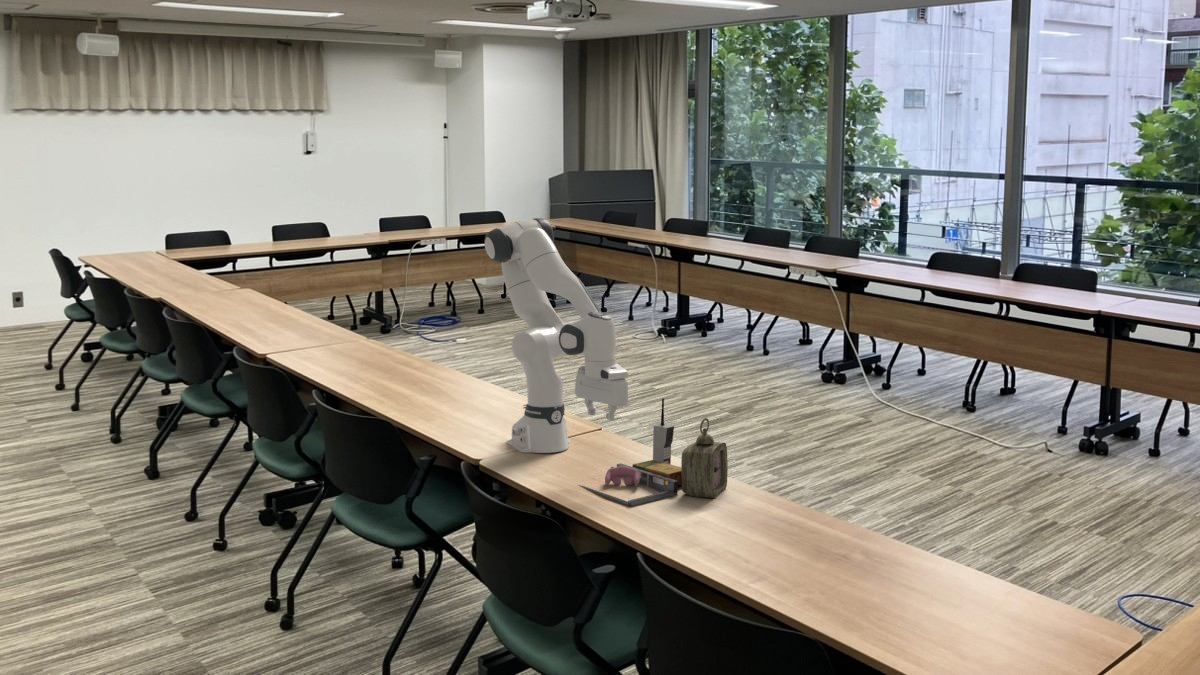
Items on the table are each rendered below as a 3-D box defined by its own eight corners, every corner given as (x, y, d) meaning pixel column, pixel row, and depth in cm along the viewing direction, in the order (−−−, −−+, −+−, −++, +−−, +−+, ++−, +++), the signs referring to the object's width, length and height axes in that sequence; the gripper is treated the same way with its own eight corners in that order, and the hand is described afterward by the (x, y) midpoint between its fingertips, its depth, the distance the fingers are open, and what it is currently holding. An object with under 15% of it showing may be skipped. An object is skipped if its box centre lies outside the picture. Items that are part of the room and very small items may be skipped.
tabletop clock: (712, 514, 279) (710, 424, 276) (680, 511, 283) (679, 422, 280) (728, 500, 292) (726, 414, 289) (697, 497, 296) (696, 412, 293)
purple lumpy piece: (639, 492, 290) (640, 470, 295) (638, 483, 287) (640, 462, 291) (604, 490, 291) (606, 469, 296) (603, 482, 288) (605, 461, 292)
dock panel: (574, 486, 292) (574, 473, 292) (620, 476, 303) (620, 463, 302) (630, 506, 273) (630, 492, 273) (677, 495, 284) (677, 481, 283)
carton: (668, 488, 288) (668, 473, 288) (631, 477, 301) (631, 463, 300) (690, 483, 294) (690, 468, 293) (652, 472, 306) (652, 458, 305)
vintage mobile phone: (665, 482, 307) (667, 400, 304) (652, 479, 310) (654, 398, 307) (672, 480, 310) (675, 398, 306) (659, 477, 313) (661, 396, 310)
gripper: (569, 366, 298) (570, 412, 300) (614, 375, 282) (614, 424, 284) (586, 363, 302) (587, 410, 303) (631, 372, 286) (632, 421, 288)
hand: (600, 417), depth 293 cm, fingers open, 7 cm apart
